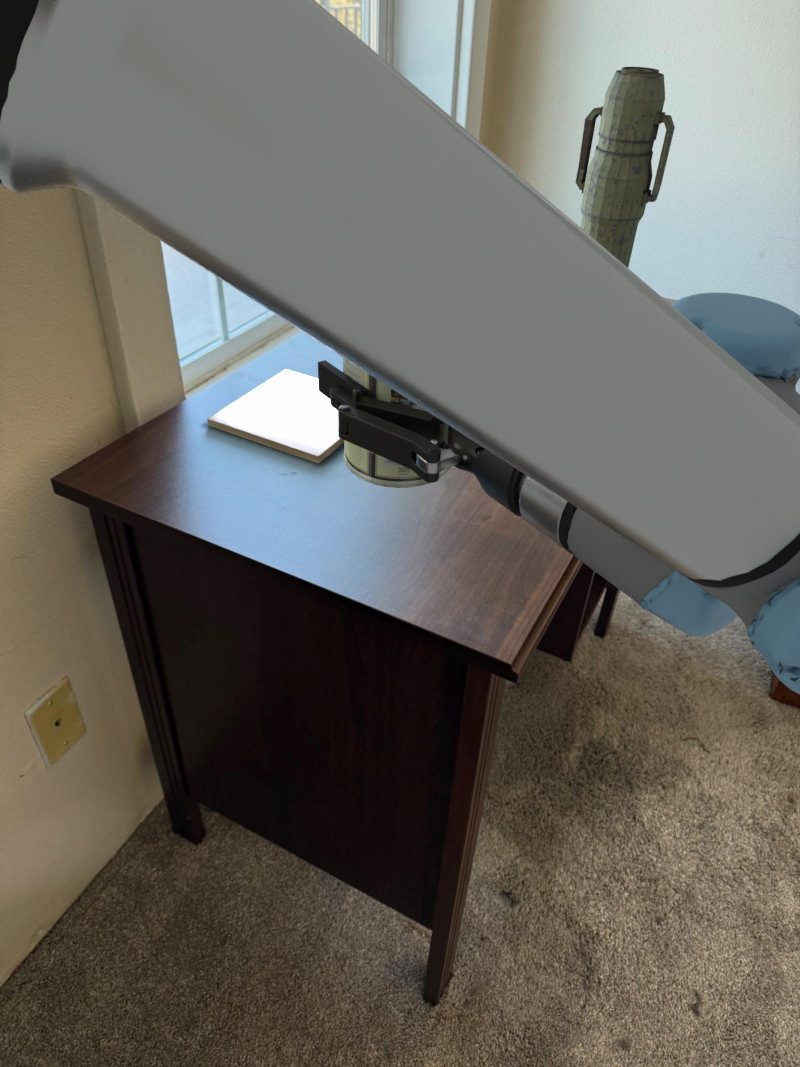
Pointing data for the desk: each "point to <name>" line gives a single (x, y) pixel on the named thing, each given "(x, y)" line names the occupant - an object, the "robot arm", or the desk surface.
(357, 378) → the coffee can
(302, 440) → the cork mat
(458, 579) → the desk surface
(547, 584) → the desk surface
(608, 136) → the thermos
